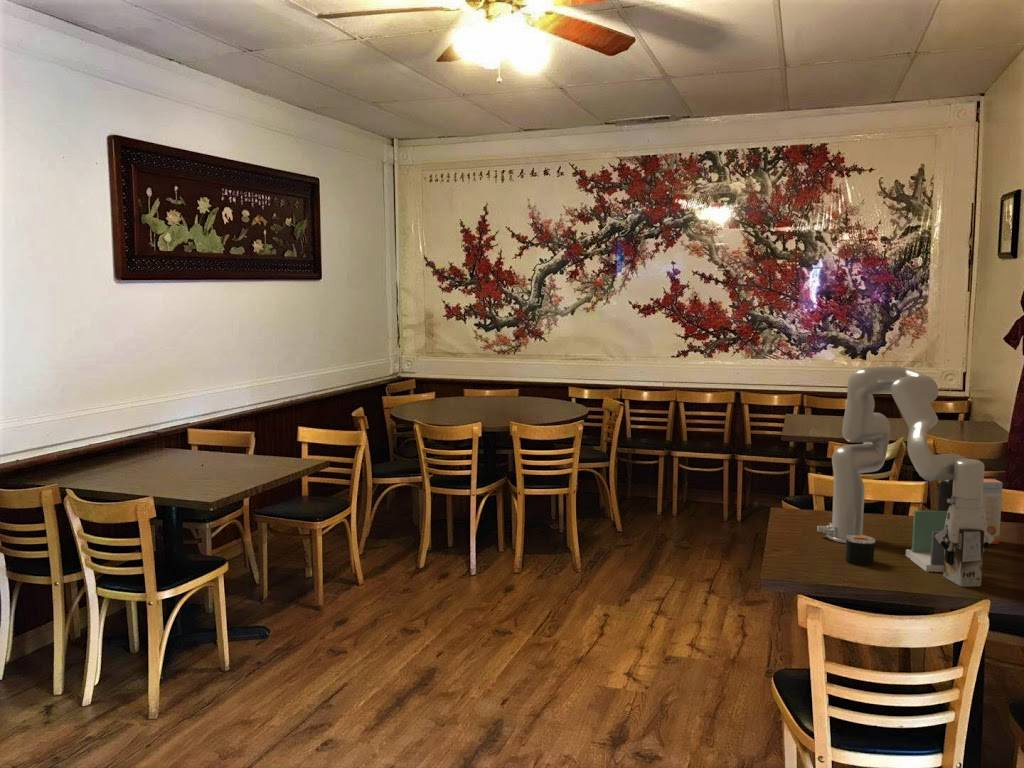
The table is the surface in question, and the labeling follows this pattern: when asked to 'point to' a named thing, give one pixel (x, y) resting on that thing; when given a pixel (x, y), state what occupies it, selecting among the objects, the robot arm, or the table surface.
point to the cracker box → (992, 506)
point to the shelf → (927, 540)
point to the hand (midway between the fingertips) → (962, 563)
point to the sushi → (860, 550)
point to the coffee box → (966, 559)
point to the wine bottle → (944, 495)
